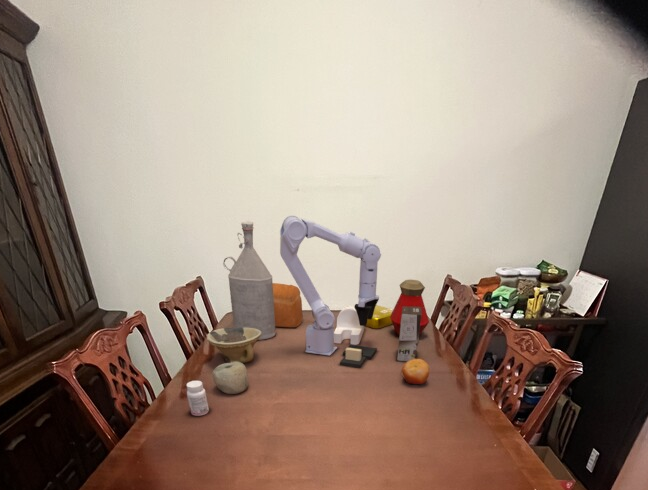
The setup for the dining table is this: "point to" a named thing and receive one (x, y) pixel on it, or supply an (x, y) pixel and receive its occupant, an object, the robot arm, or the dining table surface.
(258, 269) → the grey jug
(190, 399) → the pill bottle
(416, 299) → the bottle
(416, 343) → the coffee box
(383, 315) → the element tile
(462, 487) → the dining table surface
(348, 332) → the white slotted holder
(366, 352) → the base pad
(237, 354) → the bowl
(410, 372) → the fruit
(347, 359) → the loose pad
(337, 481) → the dining table surface
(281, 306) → the bread
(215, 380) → the stone
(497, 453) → the dining table surface
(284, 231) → the robot arm
